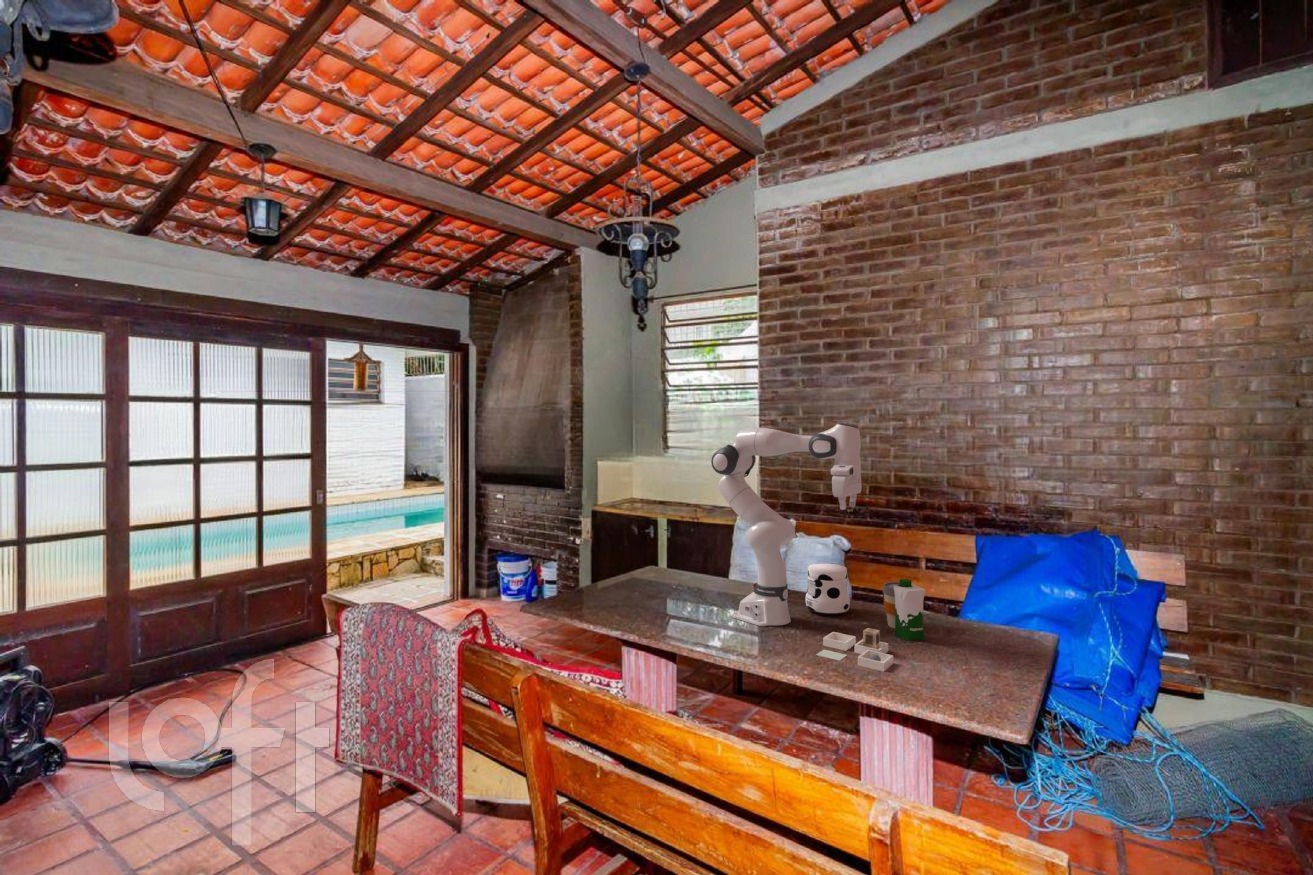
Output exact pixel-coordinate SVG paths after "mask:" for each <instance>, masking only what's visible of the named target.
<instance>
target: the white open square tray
mask: <svg viewBox="0 0 1313 875" xmlns="http://www.w3.org/2000/svg"><path fill="white" fill-rule="evenodd" d="M855 644H857V637H856V635H852V634H851V635H850V634H844V633H841V632H837V631H836V632H835V631H832V632H831V633H828V634H827V635H825V636H824V637H822V646H824V647H829V648H833V649H837V650H841V651H849V650H850V649H851V648H852V647H855Z"/></svg>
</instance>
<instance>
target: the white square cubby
mask: <svg viewBox="0 0 1313 875" xmlns="http://www.w3.org/2000/svg"><path fill="white" fill-rule="evenodd" d="M866 650H871V651H875V652H880V653H884V654H888V652H889V643H887V642H883V641H880V648H879V649H874V648H869V647H865V646H863V638H862V639H861V640H859V641H858V642H856V644H855V645H854V653H855V654H859V655H861V654H862V653H864V652H865V651H866Z"/></svg>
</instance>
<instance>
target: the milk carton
mask: <svg viewBox="0 0 1313 875" xmlns="http://www.w3.org/2000/svg"><path fill="white" fill-rule="evenodd" d="M898 582H899V585H896V586H893V587H894V593H895V628H894V636H895V637H896V638H899V639H903V640H906V642H911V641H915V642H918V641H919V642H920V641H925V630H924V629H925V628H924V598H925V595H926V589H925V588H923V587H920V586H918V585H916V584H913V583H912V580H911V579H907V578H900V579H899V580H898ZM912 584H913V585H912ZM915 585H916V586H915Z"/></svg>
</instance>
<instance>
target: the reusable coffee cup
mask: <svg viewBox="0 0 1313 875" xmlns="http://www.w3.org/2000/svg"><path fill="white" fill-rule="evenodd" d="M896 585H899V581H890V582H885V583H883V588H882V594H883V605H884V612H885V613H886V620H887V625H888V626H889V627H890V628H893V629H895V593H894V587H893V586H896ZM912 585H915V586H917V585H916V584H913V583H912Z"/></svg>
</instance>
